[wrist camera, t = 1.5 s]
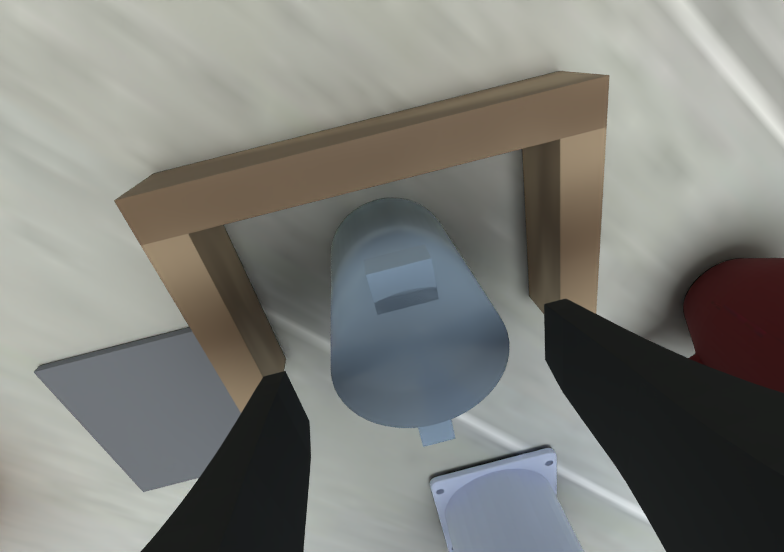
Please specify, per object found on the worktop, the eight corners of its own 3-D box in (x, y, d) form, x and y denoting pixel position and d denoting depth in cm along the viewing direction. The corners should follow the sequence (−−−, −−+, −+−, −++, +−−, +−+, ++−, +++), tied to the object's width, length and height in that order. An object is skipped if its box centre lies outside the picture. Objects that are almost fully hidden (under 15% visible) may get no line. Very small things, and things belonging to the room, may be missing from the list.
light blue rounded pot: (461, 330, 20) (518, 453, 14) (362, 355, 20) (376, 490, 14) (434, 167, 16) (500, 240, 10) (309, 199, 16) (295, 292, 9)
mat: (305, 443, 22) (305, 450, 22) (146, 485, 22) (143, 492, 22) (239, 314, 18) (238, 319, 17) (39, 365, 17) (33, 372, 17)
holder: (559, 288, 19) (595, 325, 17) (255, 366, 19) (242, 416, 16) (559, 71, 14) (609, 75, 12) (153, 173, 14) (113, 200, 12)
